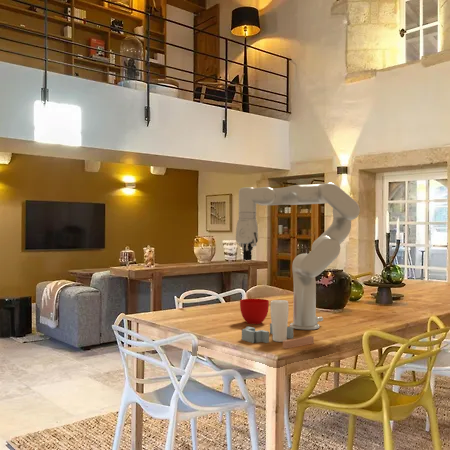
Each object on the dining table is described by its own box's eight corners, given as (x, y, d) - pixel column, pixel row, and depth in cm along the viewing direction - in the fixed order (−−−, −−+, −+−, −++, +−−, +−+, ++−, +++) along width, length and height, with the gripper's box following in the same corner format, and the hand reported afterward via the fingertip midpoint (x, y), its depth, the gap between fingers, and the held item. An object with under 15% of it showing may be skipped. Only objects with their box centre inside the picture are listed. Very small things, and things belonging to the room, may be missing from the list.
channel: (272, 333, 209) (272, 323, 209) (313, 343, 191) (313, 332, 191) (237, 338, 198) (237, 328, 198) (277, 350, 180) (277, 338, 180)
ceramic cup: (266, 318, 242) (266, 297, 242) (270, 325, 225) (270, 302, 225) (238, 318, 241) (238, 297, 241) (240, 325, 224) (240, 302, 224)
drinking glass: (277, 338, 200) (277, 299, 200) (292, 340, 195) (291, 300, 195) (267, 341, 194) (266, 301, 194) (282, 343, 190) (281, 303, 190)
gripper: (229, 216, 222) (229, 259, 222) (251, 216, 210) (251, 261, 210) (243, 217, 226) (243, 258, 226) (265, 216, 214) (265, 260, 214)
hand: (247, 259), depth 218 cm, fingers closed
